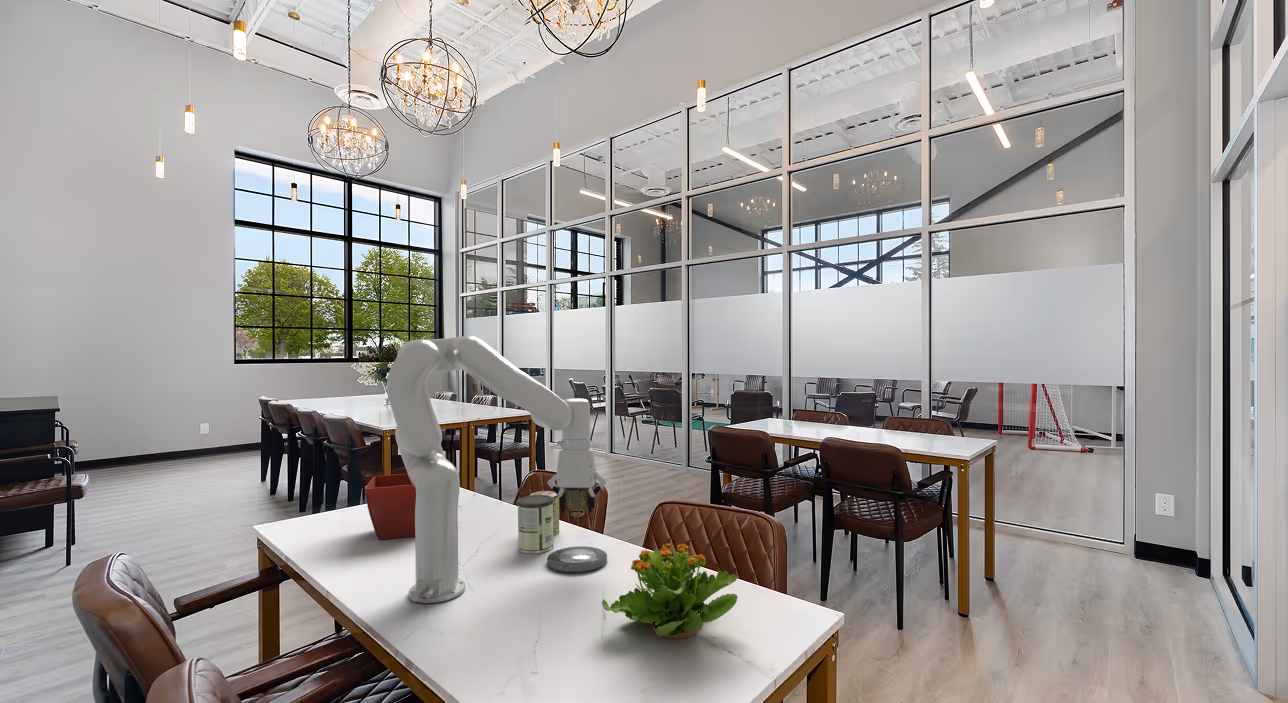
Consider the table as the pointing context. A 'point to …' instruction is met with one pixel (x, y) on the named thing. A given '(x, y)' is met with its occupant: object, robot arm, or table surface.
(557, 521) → the yellow tin can
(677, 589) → the potted flower
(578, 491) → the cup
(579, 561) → the gray dinner plate
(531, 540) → the coffee can
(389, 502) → the plant pot
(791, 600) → the table surface
